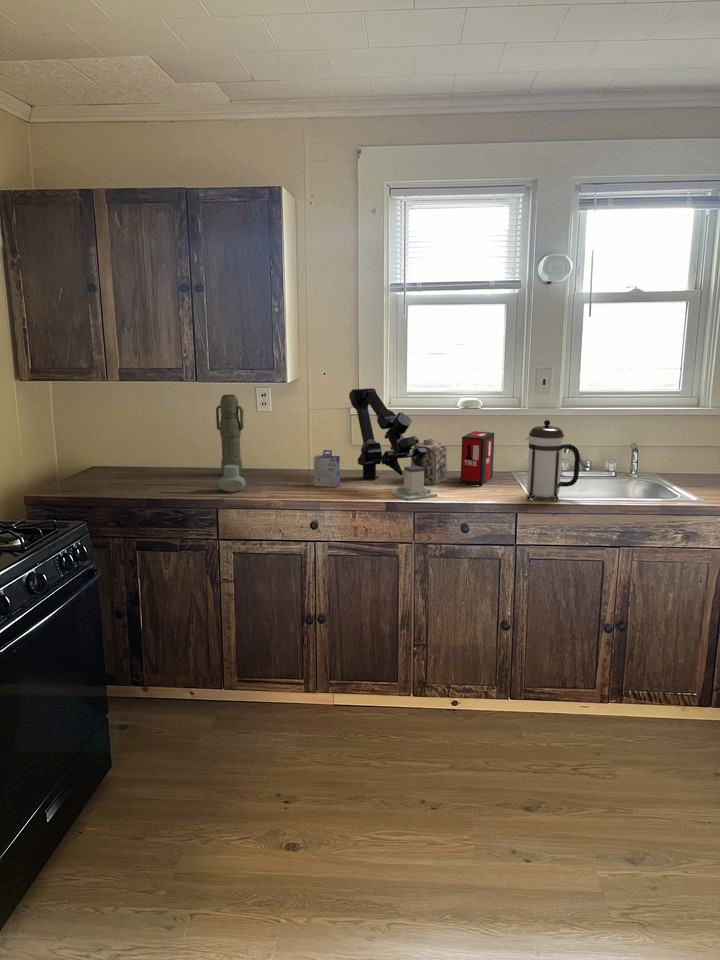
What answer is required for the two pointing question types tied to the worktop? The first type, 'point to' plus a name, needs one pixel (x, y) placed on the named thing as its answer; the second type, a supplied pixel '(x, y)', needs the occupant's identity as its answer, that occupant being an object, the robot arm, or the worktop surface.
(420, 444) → the decorative jar
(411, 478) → the block
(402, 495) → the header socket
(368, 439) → the robot arm
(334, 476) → the ink cartridge box
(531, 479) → the coffee press
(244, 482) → the air freshener
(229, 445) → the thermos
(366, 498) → the worktop surface
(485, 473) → the cleaning product box
